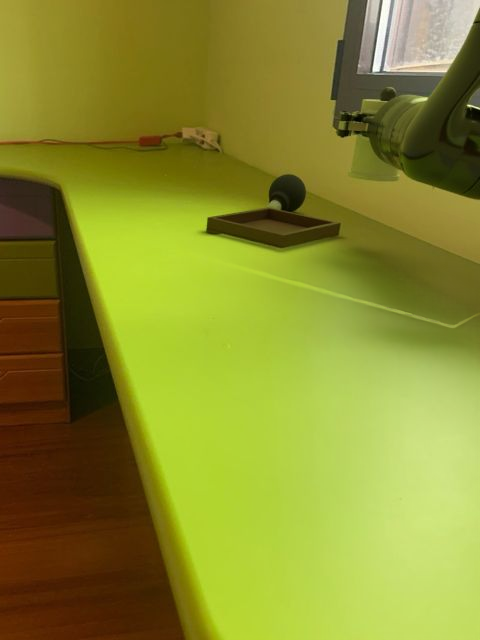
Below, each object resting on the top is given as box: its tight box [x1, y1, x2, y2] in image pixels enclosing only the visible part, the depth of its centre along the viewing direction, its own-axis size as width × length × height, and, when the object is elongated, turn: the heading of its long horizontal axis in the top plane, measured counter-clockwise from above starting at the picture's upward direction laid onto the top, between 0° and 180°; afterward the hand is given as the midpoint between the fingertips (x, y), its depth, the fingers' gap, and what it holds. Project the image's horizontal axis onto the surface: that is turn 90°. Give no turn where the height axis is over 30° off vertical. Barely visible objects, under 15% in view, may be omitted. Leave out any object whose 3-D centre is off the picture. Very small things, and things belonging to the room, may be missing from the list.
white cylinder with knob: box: [347, 86, 401, 182], centre depth 89 cm, size 7×7×11 cm
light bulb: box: [265, 173, 307, 213], centre depth 119 cm, size 6×6×10 cm
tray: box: [205, 207, 342, 249], centre depth 104 cm, size 16×14×2 cm
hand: (378, 122), depth 90 cm, fingers closed on white cylinder with knob, 6 cm apart
